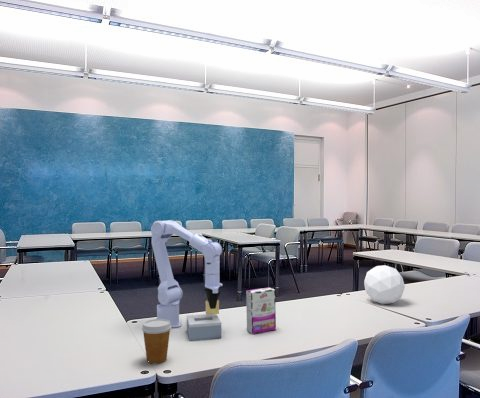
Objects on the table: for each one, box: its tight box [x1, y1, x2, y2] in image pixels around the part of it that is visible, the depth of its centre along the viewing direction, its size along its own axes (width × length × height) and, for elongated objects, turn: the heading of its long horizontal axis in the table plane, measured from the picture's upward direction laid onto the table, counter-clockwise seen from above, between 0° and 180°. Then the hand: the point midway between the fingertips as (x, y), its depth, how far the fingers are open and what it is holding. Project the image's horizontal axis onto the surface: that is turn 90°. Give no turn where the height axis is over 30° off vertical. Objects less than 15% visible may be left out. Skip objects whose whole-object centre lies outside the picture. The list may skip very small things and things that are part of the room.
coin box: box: [186, 313, 222, 342], centre depth 149 cm, size 12×12×6 cm
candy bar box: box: [245, 287, 277, 335], centre depth 154 cm, size 11×5×16 cm, turn 117°
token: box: [205, 299, 220, 315], centre depth 152 cm, size 5×2×5 cm, turn 104°
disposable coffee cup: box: [141, 318, 173, 364], centre depth 125 cm, size 10×10×12 cm
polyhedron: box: [363, 264, 406, 305], centre depth 196 cm, size 19×20×20 cm
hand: (212, 307), depth 152 cm, fingers closed on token, 2 cm apart
